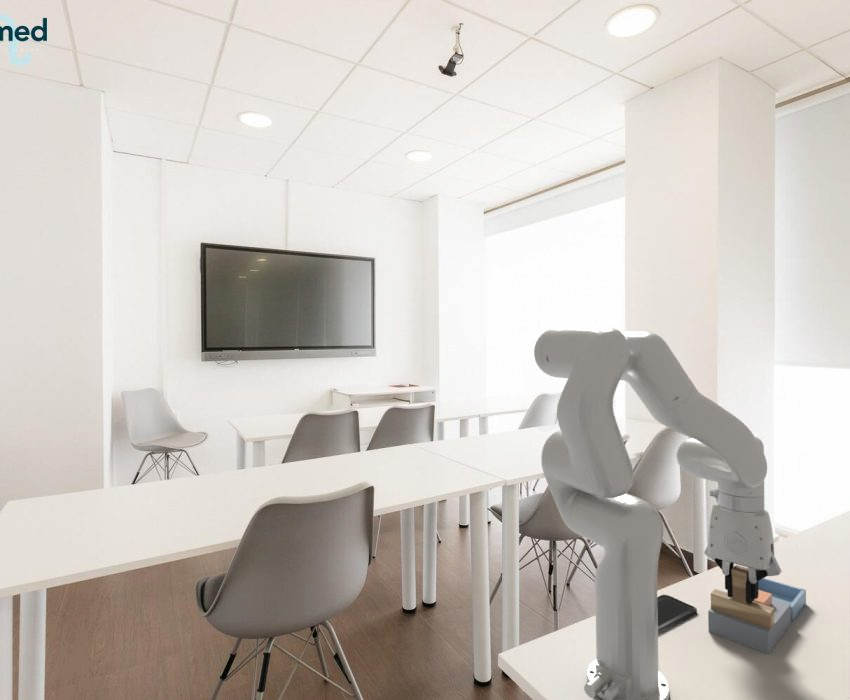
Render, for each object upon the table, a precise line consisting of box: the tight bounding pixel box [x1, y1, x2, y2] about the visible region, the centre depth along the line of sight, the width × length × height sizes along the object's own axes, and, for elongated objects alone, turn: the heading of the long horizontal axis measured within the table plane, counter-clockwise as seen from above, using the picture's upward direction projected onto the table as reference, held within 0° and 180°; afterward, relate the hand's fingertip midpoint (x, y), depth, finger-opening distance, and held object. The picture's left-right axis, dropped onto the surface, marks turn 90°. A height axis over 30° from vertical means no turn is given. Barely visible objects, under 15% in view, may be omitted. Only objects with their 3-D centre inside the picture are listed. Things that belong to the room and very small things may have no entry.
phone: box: [657, 594, 698, 635], centre depth 106 cm, size 8×1×15 cm
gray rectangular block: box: [707, 598, 792, 655], centre depth 101 cm, size 14×10×4 cm
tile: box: [754, 590, 772, 607], centre depth 102 cm, size 5×5×2 cm
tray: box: [758, 577, 807, 623], centre depth 109 cm, size 10×10×3 cm
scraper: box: [710, 564, 775, 629], centre depth 98 cm, size 2×10×9 cm, turn 41°
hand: (741, 596), depth 98 cm, fingers closed on scraper, 2 cm apart
